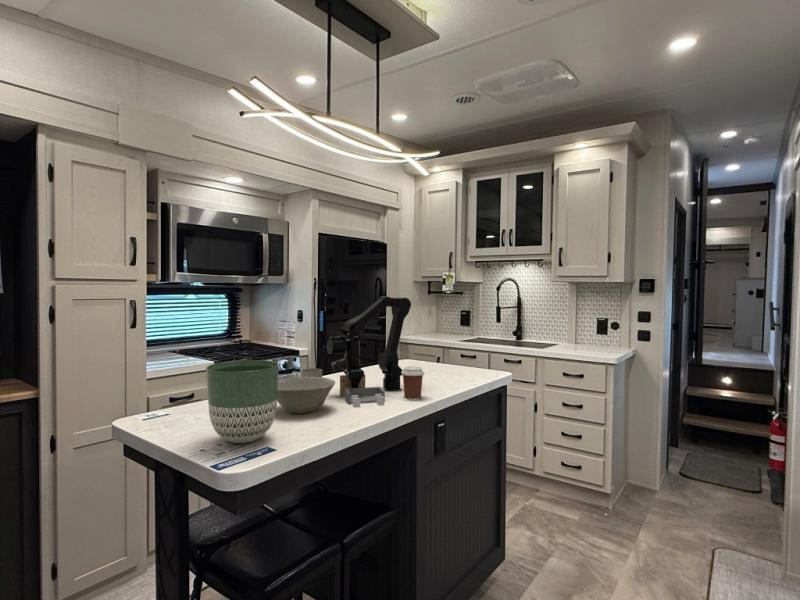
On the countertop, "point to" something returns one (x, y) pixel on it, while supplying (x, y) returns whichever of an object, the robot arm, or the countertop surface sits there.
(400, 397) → the countertop surface
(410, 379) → the coffee cup
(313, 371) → the cup
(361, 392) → the carcass
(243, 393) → the planter
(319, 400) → the ceramic bowl
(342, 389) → the door
